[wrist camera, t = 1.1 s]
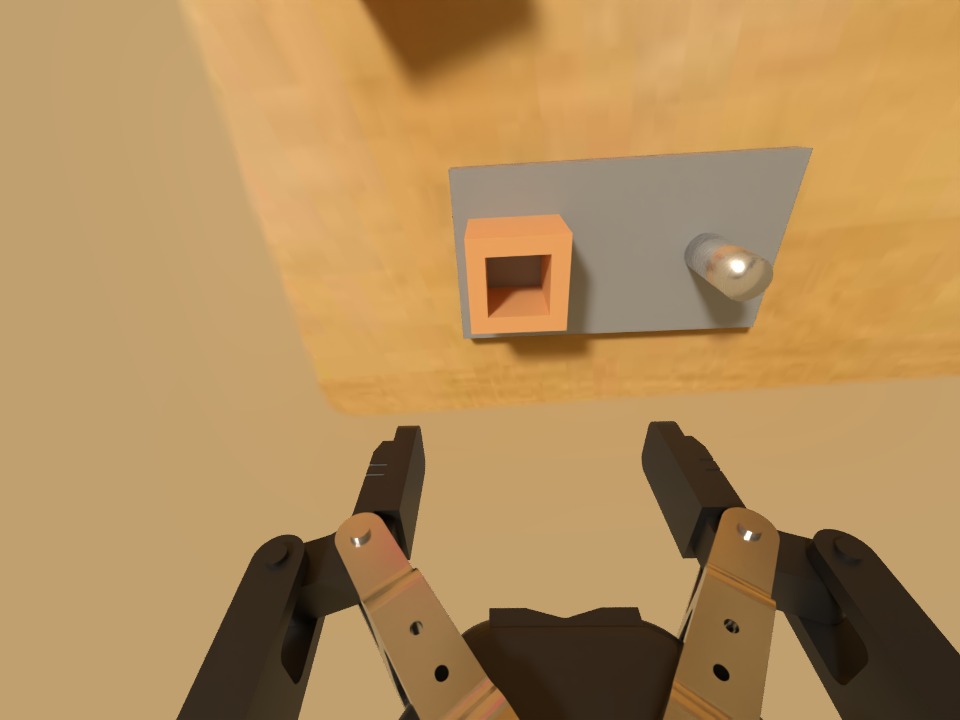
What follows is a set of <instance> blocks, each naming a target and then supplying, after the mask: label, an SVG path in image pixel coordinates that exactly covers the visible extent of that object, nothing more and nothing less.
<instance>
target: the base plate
mask: <svg viewBox="0 0 960 720" xmlns="http://www.w3.org/2000/svg"><path fill="white" fill-rule="evenodd" d="M812 150H813V148H805V147H783V148H766V149H750V150H733V151H717V152H700V153H684V154H667V155H651V156H634V157H618V158H601V159H585V160H569V161H552V162H536V163H519V164H503V165H486V166H470V167H453V168H450V169H449V179H450V190H451V201H452V212H453V224H454V235H455V246H456V257H457V269H458V280H459V291H460V302H461V314H462V325H463V336H464V339H468V338H493V337H517V336H542V335H566V334H590V333H615V332H639V331H664V330H688V329H713V328H737V327H753V325H754V322H755V319H756V316H757V313H758V310H759V307H760V304H761V301H762V298H763V295H764V292H765V291H764V292H763V293H761V294H760V295H759V296H757V297H755V298H753V299H751V300H748V301H735V300H732V299H730V298H729V297H728V296H726V295H725V294H724V293H722V292H721V291H720V290H718V289H717V288H716V287H715V286H713V285H712V284H711V283H709V282H708V281H707V280H705V279H704V278H703V277H701V276H700V275H699V274H698V273H696V272H695V271H694V270H692V269H691V268H690V267H689V266H687V264H686V262H685V259H684V254H685V250H686V247H687V246H688V244H689V243H690V242H691V241H692V240H693V239H694V238H695V237H697V236H698V235H700V234H703V233H708V232H712V233H716V234H718V235H720V236H722V237H724V238H725V239H727V240H729V241H731V242H733V243H735V244H737V245H739V246H741V247H743V248H744V249H746V250H748V251H750V252H752V253H754V254H756V255H758V256H760V257H762V258H763V259H765V260H767V261H768V262H769V263H770V264H771V265H772V268H773V265H774V262H775V259H776V256H777V253H778V250H779V248H780V245H781V242H782V239H783V236H784V233H785V230H786V227H787V224H788V221H789V218H790V215H791V212H792V209H793V206H794V203H795V200H796V197H797V194H798V191H799V188H800V185H801V182H802V179H803V176H804V173H805V170H806V167H807V165H808V162H809V159H810V156H811V153H812ZM553 214H559V215H560V216H561V218H562V219H563V220H564V222H565V223H566V225H567V226H568V228H569V229H570V230H571V232H572V233H573V237H572V253H571V268H570V284H569V299H568V315H567V330H564V331H540V332H516V333H492V334H471V321H470V308H469V295H468V282H467V269H466V256H465V243H464V238H465V233H466V228H467V222H468V219H480V218H498V217H516V216H534V215H553ZM487 276H488V288H499V287H521V286H541V255H529V256H509V257H489V258H487Z"/></svg>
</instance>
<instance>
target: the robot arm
mask: <svg viewBox="0 0 960 720" xmlns="http://www.w3.org/2000/svg"><path fill="white" fill-rule="evenodd" d="M642 466H643V470H644V473H645V475H646V477H647V480H648V482H649V484H650V486H651V489H652V491H653V493H654V495H655V497H656V499H657V502H658V504H659V506H660V509H661V510H662V513H663V515H664V517H665V520H666V522H667V524H668V526H669V529H670V531H671V533H672V535H673V537H674V540H675V542H676V544H677V546H678V549H679V551H680V553H681V555H682V557H683V558H697V560H698V562H699V564H700V568H699V571H698V574H697V577H696V580H695V583H694V586H693V589H692V592H691V595H690V598H689V602H688V605H687V608H686V611H685V614H684V617H683V621H682V623H681V626H680V629H679V631H678V634H677V637H675V636H673V635H672V634H670V633H669V632H667V631H666V630H664V629H662V628H660V627H658V626H657V625H654V624H652V623H649V622H647V621H643V620H641V616H640V613H639V610H638V608H637V607H615V608H614V607H613V608H598V609H595V610H592V611H588V612H585V613H582V614H578V615H575V616H572V617H569V618H561V617H557V616H553V615H549V614H545V613H542V612H538V611H534V610H530V609H527V608H490V610H489V612H490V613H489V614H490V616H489V620H488V621H484V622H481V623H480V624H477V625H475V626H473V627H471V628H470V629H468V630H467V631H465V632H464V633H463V634H462V635H461V634H460V633H459V631H458V630H457V628H456V626H455V625H454V623H453V622H452V620H451V619H450V617H449V615H448V614H447V612H446V611H445V609H444V608H443V606H442V605H441V603H440V601H439V600H438V599H437V597H436V596H435V594H434V592H433V591H432V589H431V587H430V586H429V584H428V583H427V581H426V580H425V578H424V576H423V575H422V574H421V572H420V571H419V570H418V569H417V568H415V569H413V568H412V566H411V565H410V563H409V562H408V560H410V557H411V550H412V544H413V538H414V532H415V527H416V521H417V516H418V510H419V503H420V498H421V492H422V486H423V481H424V474H425V456H424V448H423V442H422V435H421V429H420V426H398V428H397V431H396V434H395V438H394V441H383V442H382V443H381V444H380V445H379V447H378V448H377V449H376V450H375V451H374V452H373V456H372V458H371V461H370V466H369V468H368V470H367V473H366V477H365V479H364V482H363V486H362V488H361V491H360V494H359V497H358V500H357V503H356V506H355V509H354V512H353V514H352V516H351V517H350V518H348V519H347V520H345V521H344V522H343V523H342V525H341V526H340V527H339V528H338V530H337V531H336V532H335V533H333V534H331V535H329V536H326V537H323V538H320V539H316V540H313V541H310V542H306V543H303V541H302V540H301V539H300V538H299V537H297V536H295V535H281V536H278V537H276V538H273V539H271V540H269V541H268V542H266V543H265V544H264V545H262V546H261V547H260V548H259V549H258V550H257V551H256V553H255V554H254V556H253V557H252V559H251V562H250V564H249V566H248V568H247V570H246V572H245V574H244V576H243V578H242V581H241V583H240V585H239V587H238V589H237V591H236V593H235V596H234V598H233V600H232V602H231V604H230V606H229V608H228V610H227V613H226V615H225V617H224V619H223V621H222V623H221V626H220V628H219V630H218V632H217V634H216V636H215V638H214V640H213V643H212V645H211V647H210V649H209V651H208V653H207V655H206V657H205V660H204V662H203V664H202V666H201V668H200V670H199V673H198V675H197V677H196V679H195V681H194V684H193V685H192V688H191V689H190V692H189V694H188V696H187V698H186V700H185V703H184V704H183V707H182V709H181V711H180V713H179V715H178V717H177V719H176V720H298V717H299V713H300V710H301V706H302V702H303V698H304V694H305V691H306V687H307V683H308V679H309V676H310V672H311V668H312V664H313V661H314V657H315V653H316V649H317V645H318V642H319V638H320V634H321V630H322V627H323V623H324V619H325V616H326V615H329V614H332V613H334V612H337V611H340V610H343V609H346V608H349V607H351V606H354V605H358V607H359V609H360V611H361V613H362V616H363V618H364V620H365V622H366V624H367V626H368V629H369V631H370V633H371V635H372V637H373V639H374V642H375V644H376V646H377V648H378V650H379V652H380V655H381V657H382V659H383V662H384V664H385V666H386V669H387V671H388V673H389V676H390V678H391V680H392V683H393V685H394V687H395V689H396V692H397V693H398V696H399V698H400V700H401V702H402V705H403V707H404V709H405V711H404V713H403V714H402V715H401V717H400V718H399V720H763V719H762V718H761V717H760V715H761V708H762V701H763V694H764V687H765V681H766V673H767V667H768V659H769V653H770V646H771V639H772V632H773V625H774V618H775V611H776V610H780V611H783V612H784V614H785V616H786V618H787V619H788V621H789V623H790V625H791V627H792V629H793V630H794V632H795V634H796V636H797V638H798V639H799V641H800V643H801V645H802V647H803V649H804V651H805V652H806V654H807V656H808V658H809V660H810V661H811V663H812V665H813V667H814V669H815V671H816V673H817V674H818V676H819V678H820V680H821V682H822V683H823V685H824V687H825V689H826V691H827V693H828V695H829V696H830V698H831V700H832V702H833V704H834V706H835V707H836V709H837V711H838V713H839V715H840V717H841V718H842V720H960V655H959V653H958V652H957V651H956V650H955V648H954V647H953V646H952V645H951V644H950V642H949V641H948V640H947V639H946V637H945V636H944V635H943V634H942V633H941V631H940V630H939V629H938V628H937V627H936V626H935V624H934V623H933V622H932V621H931V619H930V618H929V617H928V616H927V615H926V614H925V612H924V611H923V610H922V609H921V607H920V606H919V605H918V604H917V603H916V601H915V600H914V599H913V598H912V597H911V596H910V594H909V593H908V592H907V591H906V589H905V588H904V587H903V586H902V585H901V583H900V582H899V581H898V580H897V579H896V577H895V576H894V575H893V574H892V572H891V571H890V570H889V569H888V568H887V566H886V565H885V564H884V563H883V562H882V561H881V559H880V558H879V557H878V556H877V554H876V553H875V552H874V551H873V550H872V549H871V548H870V547H868V545H866V544H865V543H864V542H862V541H861V540H859V539H857V538H856V537H854V536H852V535H850V534H847V533H845V532H842V531H838V530H833V529H824V530H820V531H818V532H817V533H816V534H815V536H814V538H813V539H809V538H805V537H801V536H797V535H793V534H789V533H785V532H782V531H778V530H776V528H775V527H774V526H773V524H772V523H771V522H770V521H769V520H767V519H766V518H764V517H763V516H762V515H760V514H758V513H756V512H754V511H752V510H749V509H747V508H746V507H745V505H744V504H743V502H742V501H741V500H740V498H739V496H738V495H737V493H736V492H735V490H734V489H733V487H732V486H731V485H730V483H729V481H728V480H727V478H726V477H725V476H724V474H723V473H722V471H720V468H719V467H718V465H717V464H716V462H715V461H713V458H712V456H711V455H710V453H709V452H708V450H707V449H706V447H705V446H704V445H702V444H701V443H700V442H699V441H697V440H696V439H695V438H694V437H692V436H684V434H683V433H682V431H681V430H680V428H679V426H678V425H677V423H676V422H674V421H662V422H651V423H650V424H649V427H648V431H647V435H646V439H645V443H644V447H643V452H642Z"/></svg>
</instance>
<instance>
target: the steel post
mask: <svg viewBox="0 0 960 720" xmlns="http://www.w3.org/2000/svg"><path fill="white" fill-rule="evenodd" d="M684 259H685V262H686V264H687V266H689V267H690V268H691V269H692V270H694V271H695V272H696V273H698V274H699V275H700V276H701V277H703V278H704V279H705V280H707V281H708V282H709V283H711V284H712V285H713V286H715V287H716V288H717V289H718V290H720V291H721V292H722V293H724V294H725V295H726V296H728V297H729V298H730V299H732V300H735V301H748V300H751V299H753V298H755V297H757V296H759V295H760V294H761V293H763V292H764V291H765V290H766V289H767V287H768V286H769V284H770V283H771V281H772V278H773V268H772V265H771V264H770V263H769V262H768V261H767V260H765V259H763V258H762V257H760V256H758V255H756V254H754V253H752V252H750V251H748V250H746V249H744V248H743V247H741V246H739V245H737V244H735V243H733V242H731V241H729V240H727V239H725V238H724V237H722V236H720V235H718V234H716V233H712V232H708V233H703V234H700V235H698V236H697V237H695V238H694V239H693V240H692V241H691V242H690V243H689V244H688V246H687V247H686V250H685V254H684Z"/></svg>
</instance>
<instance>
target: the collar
mask: <svg viewBox="0 0 960 720" xmlns="http://www.w3.org/2000/svg"><path fill="white" fill-rule="evenodd" d="M572 237H573V233H572V232H571V230H570V229H569V228H568V226H567V225H566V223H565V222H564V220H563V219H562V218H561V216H560V215H559V214H553V215H534V216H516V217H498V218H480V219H468V222H467V228H466V233H465V238H464V243H465V256H466V269H467V282H468V295H469V308H470V321H471V334H492V333H516V332H540V331H564V330H567V315H568V299H569V284H570V268H571V253H572ZM529 255H541V286H521V287H499V288H488V276H487V258H489V257H509V256H529Z"/></svg>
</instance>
